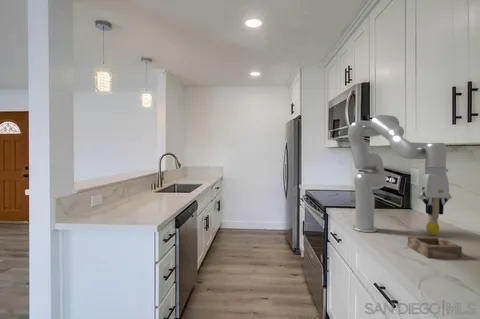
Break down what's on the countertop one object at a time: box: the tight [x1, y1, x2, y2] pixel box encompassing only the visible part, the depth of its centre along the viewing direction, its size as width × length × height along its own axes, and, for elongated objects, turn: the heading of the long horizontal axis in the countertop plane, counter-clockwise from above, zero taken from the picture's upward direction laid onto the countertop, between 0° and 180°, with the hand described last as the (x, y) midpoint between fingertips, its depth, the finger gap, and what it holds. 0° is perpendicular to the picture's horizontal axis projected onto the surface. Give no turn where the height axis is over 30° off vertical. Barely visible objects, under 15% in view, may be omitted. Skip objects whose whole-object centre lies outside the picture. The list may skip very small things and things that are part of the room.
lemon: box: [425, 221, 440, 237], centre depth 153 cm, size 6×6×8 cm
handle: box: [427, 190, 444, 224], centre depth 128 cm, size 5×6×15 cm
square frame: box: [407, 236, 463, 259], centre depth 128 cm, size 14×14×4 cm
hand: (434, 213), depth 128 cm, fingers closed on handle, 4 cm apart
